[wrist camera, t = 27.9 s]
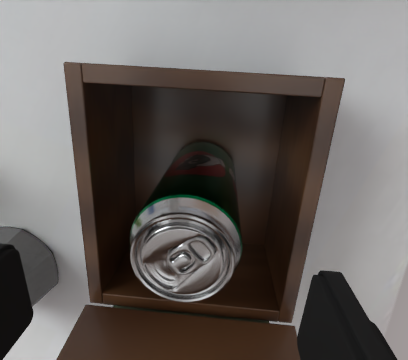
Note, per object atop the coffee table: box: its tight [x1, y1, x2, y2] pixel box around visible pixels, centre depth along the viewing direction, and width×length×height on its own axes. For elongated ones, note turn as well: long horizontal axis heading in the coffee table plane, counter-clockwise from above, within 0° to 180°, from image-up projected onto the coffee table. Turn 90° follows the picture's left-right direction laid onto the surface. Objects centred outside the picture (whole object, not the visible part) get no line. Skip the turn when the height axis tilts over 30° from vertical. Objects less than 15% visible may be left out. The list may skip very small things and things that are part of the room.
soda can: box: [130, 142, 242, 303], centre depth 17 cm, size 5×5×12 cm
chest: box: [64, 62, 345, 323], centre depth 19 cm, size 15×13×8 cm
